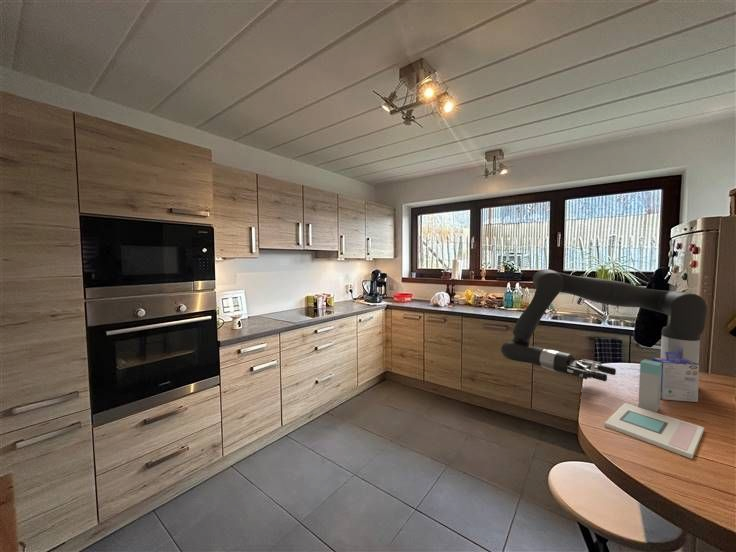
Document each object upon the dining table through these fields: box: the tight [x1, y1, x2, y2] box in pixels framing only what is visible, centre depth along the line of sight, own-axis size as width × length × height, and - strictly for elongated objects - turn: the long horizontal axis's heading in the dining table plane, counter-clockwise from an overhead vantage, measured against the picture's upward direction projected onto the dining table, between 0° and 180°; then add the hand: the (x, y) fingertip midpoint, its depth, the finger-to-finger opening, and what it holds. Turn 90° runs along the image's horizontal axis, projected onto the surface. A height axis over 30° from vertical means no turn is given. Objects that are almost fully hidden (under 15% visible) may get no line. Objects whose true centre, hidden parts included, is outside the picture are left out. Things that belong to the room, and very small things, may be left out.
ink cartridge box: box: [651, 352, 700, 403], centre depth 94 cm, size 10×6×14 cm, turn 78°
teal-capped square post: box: [637, 358, 662, 413], centre depth 88 cm, size 4×4×14 cm
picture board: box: [604, 402, 705, 459], centre depth 78 cm, size 18×16×1 cm
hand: (611, 375), depth 96 cm, fingers open, 8 cm apart
